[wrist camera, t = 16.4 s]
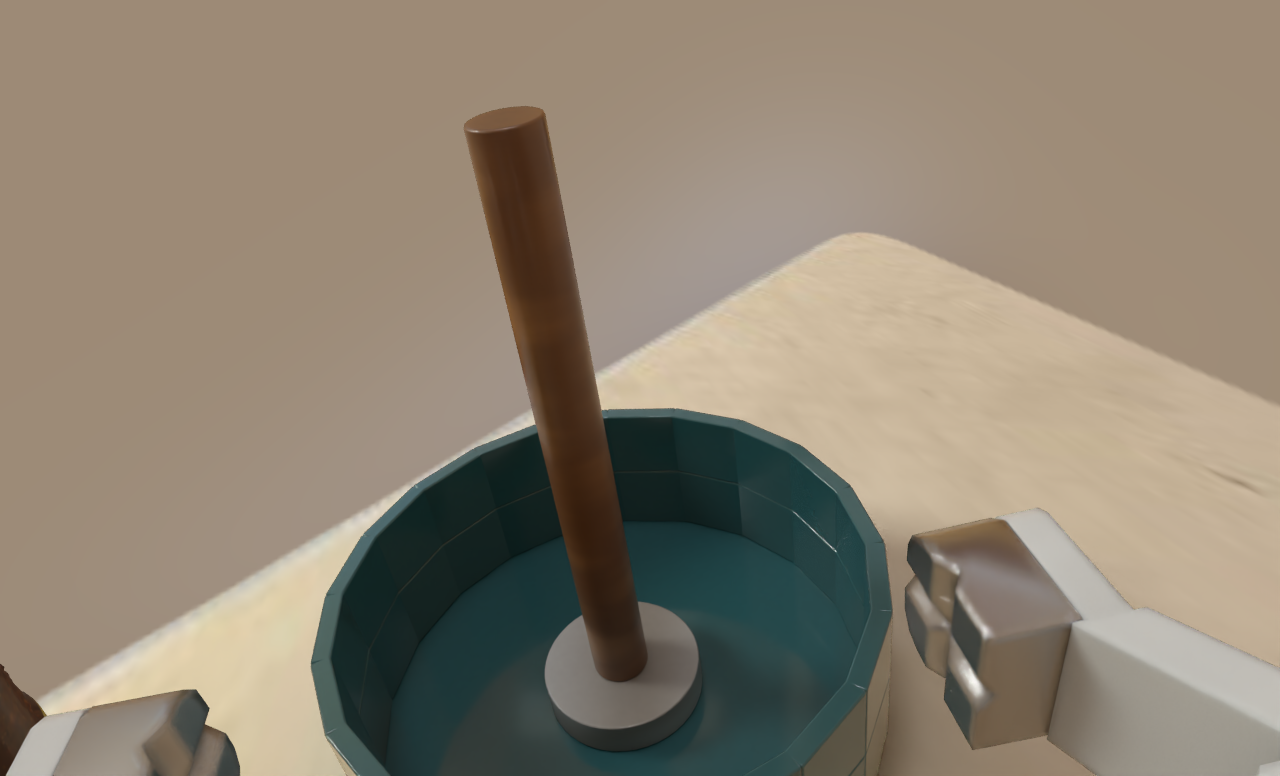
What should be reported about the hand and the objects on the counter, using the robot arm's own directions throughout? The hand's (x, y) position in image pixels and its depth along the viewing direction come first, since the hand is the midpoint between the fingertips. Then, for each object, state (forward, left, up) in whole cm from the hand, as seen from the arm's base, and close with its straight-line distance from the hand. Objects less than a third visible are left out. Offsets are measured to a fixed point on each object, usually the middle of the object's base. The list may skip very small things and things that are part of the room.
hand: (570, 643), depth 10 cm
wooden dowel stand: (0, +12, -16) cm, 20 cm away
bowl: (0, +12, -17) cm, 21 cm away
